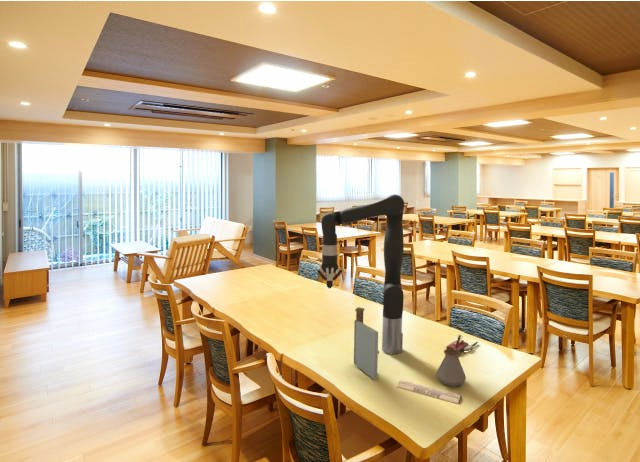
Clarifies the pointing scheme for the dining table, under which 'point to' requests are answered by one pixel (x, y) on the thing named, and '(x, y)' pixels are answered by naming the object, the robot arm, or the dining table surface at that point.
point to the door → (366, 348)
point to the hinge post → (359, 314)
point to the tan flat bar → (429, 391)
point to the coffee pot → (451, 367)
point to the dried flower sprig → (461, 346)
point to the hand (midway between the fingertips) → (329, 287)
